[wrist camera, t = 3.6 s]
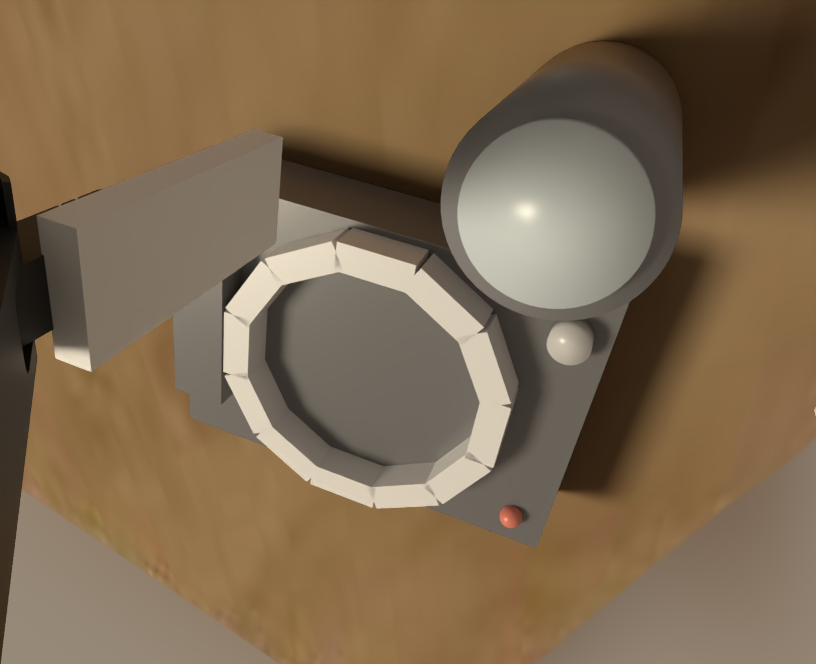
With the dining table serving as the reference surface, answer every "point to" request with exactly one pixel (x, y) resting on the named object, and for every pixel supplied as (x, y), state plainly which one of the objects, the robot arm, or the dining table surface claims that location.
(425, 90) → the dining table surface
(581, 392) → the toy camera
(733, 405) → the dining table surface
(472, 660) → the dining table surface
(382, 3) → the dining table surface
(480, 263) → the lens
